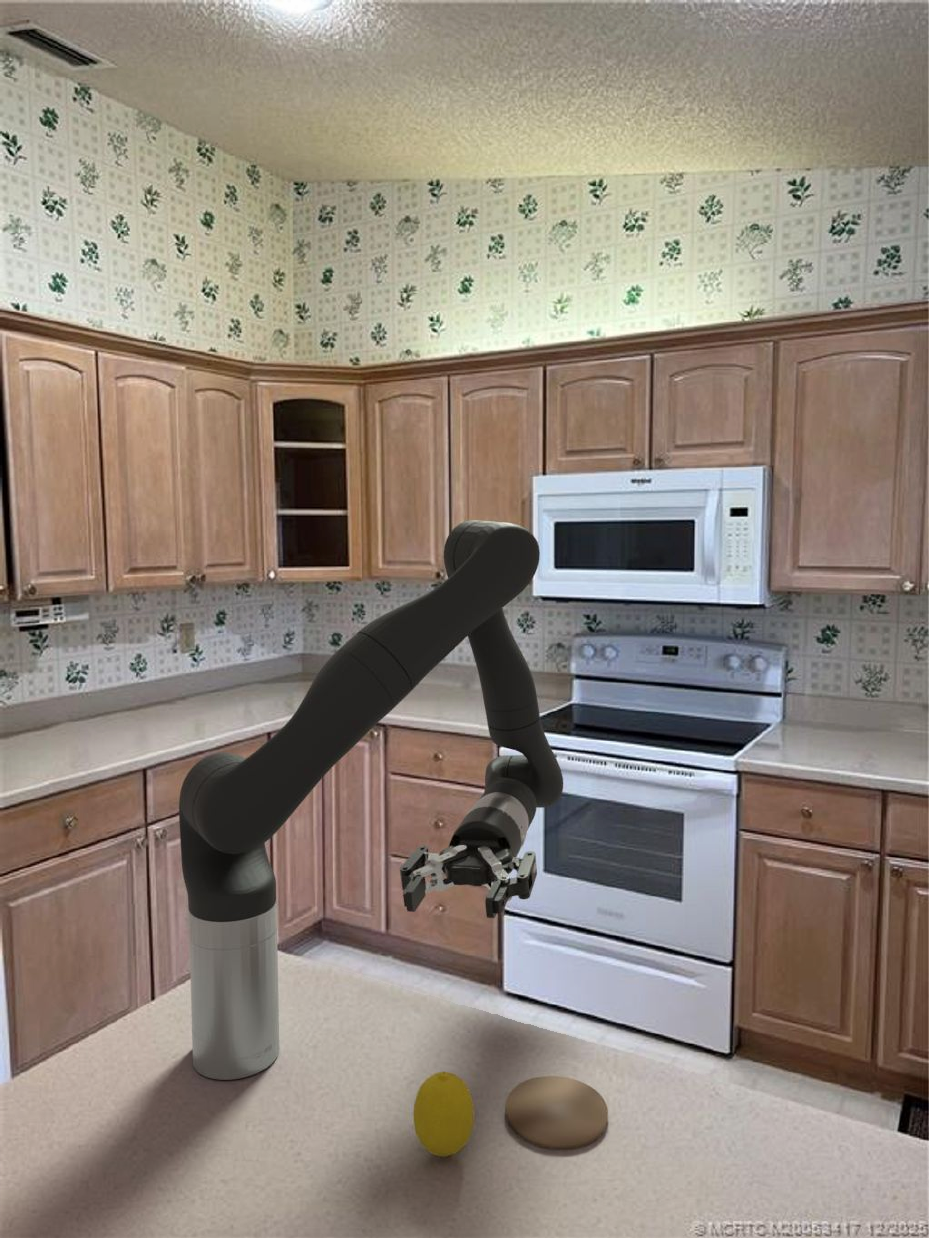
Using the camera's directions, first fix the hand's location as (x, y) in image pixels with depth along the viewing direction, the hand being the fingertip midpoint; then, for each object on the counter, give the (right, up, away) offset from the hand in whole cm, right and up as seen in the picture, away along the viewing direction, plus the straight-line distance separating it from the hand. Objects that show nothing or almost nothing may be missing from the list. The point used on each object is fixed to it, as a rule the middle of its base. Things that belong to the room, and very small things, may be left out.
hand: (448, 906), depth 87 cm
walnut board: (+11, -20, -2) cm, 23 cm away
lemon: (0, -21, -7) cm, 22 cm away
